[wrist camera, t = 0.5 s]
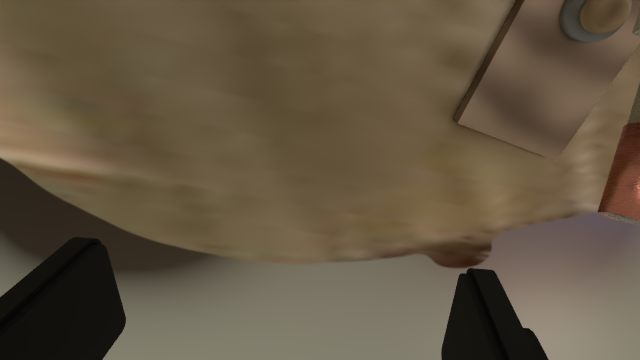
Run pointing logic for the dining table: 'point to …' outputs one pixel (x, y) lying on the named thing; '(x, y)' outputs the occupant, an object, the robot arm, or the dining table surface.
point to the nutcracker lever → (625, 168)
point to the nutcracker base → (549, 71)
